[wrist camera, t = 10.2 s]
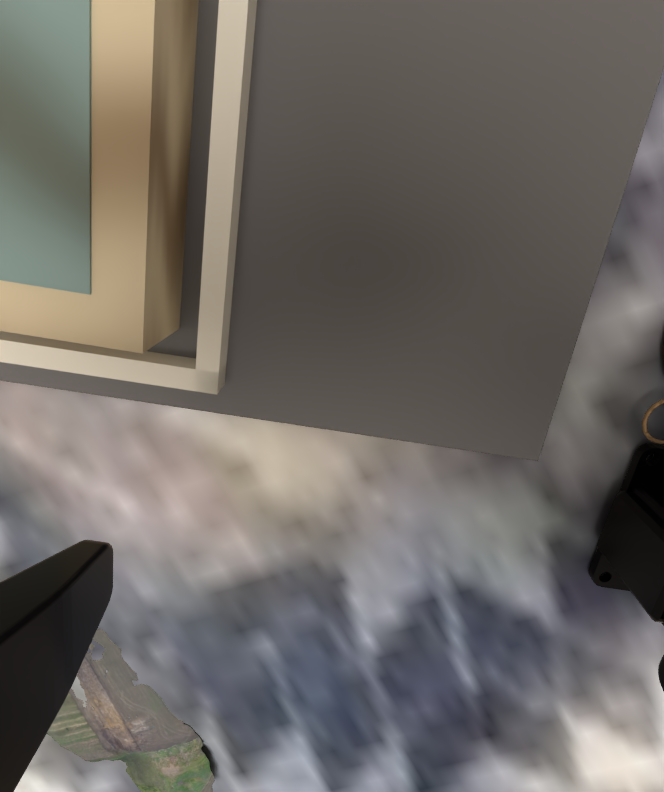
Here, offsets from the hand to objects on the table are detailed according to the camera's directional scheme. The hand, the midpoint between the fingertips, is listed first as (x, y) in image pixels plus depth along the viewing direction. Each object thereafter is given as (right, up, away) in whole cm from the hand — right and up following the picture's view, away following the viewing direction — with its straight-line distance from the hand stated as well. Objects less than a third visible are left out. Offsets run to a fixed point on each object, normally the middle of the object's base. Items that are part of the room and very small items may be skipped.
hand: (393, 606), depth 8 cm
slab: (-9, +11, +8) cm, 16 cm away
